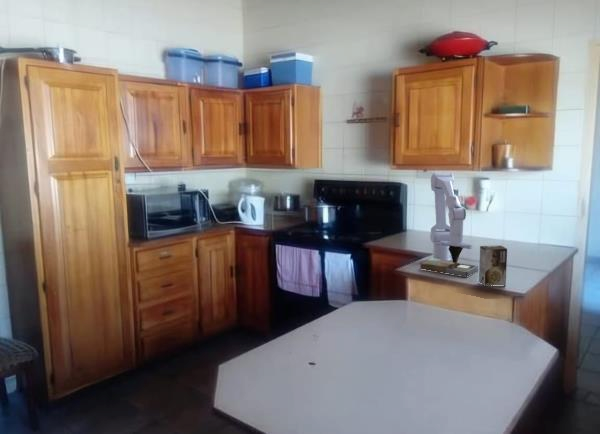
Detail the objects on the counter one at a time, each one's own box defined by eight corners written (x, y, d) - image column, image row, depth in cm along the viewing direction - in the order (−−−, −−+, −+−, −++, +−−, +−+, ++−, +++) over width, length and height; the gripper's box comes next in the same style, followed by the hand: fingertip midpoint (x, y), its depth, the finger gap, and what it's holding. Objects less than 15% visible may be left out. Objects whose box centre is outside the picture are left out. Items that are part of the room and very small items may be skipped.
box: (457, 267, 227) (457, 262, 227) (477, 271, 221) (478, 265, 221) (445, 274, 216) (445, 268, 216) (466, 277, 210) (467, 272, 210)
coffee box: (499, 282, 203) (501, 245, 201) (506, 286, 197) (508, 248, 194) (477, 282, 203) (479, 245, 200) (484, 287, 196) (486, 248, 194)
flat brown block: (433, 264, 235) (433, 258, 234) (456, 267, 227) (457, 261, 227) (420, 269, 224) (420, 263, 224) (445, 274, 217) (445, 267, 216)
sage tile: (431, 262, 226) (431, 258, 226) (440, 263, 223) (440, 259, 223) (427, 264, 223) (427, 259, 223) (436, 265, 220) (436, 261, 220)
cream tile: (470, 266, 220) (470, 270, 220) (460, 264, 223) (460, 268, 223) (466, 268, 217) (466, 272, 217) (456, 266, 219) (456, 270, 220)
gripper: (437, 233, 222) (436, 261, 224) (468, 236, 213) (467, 266, 215) (443, 231, 227) (442, 258, 229) (474, 234, 218) (473, 263, 220)
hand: (455, 262), depth 222 cm, fingers closed
